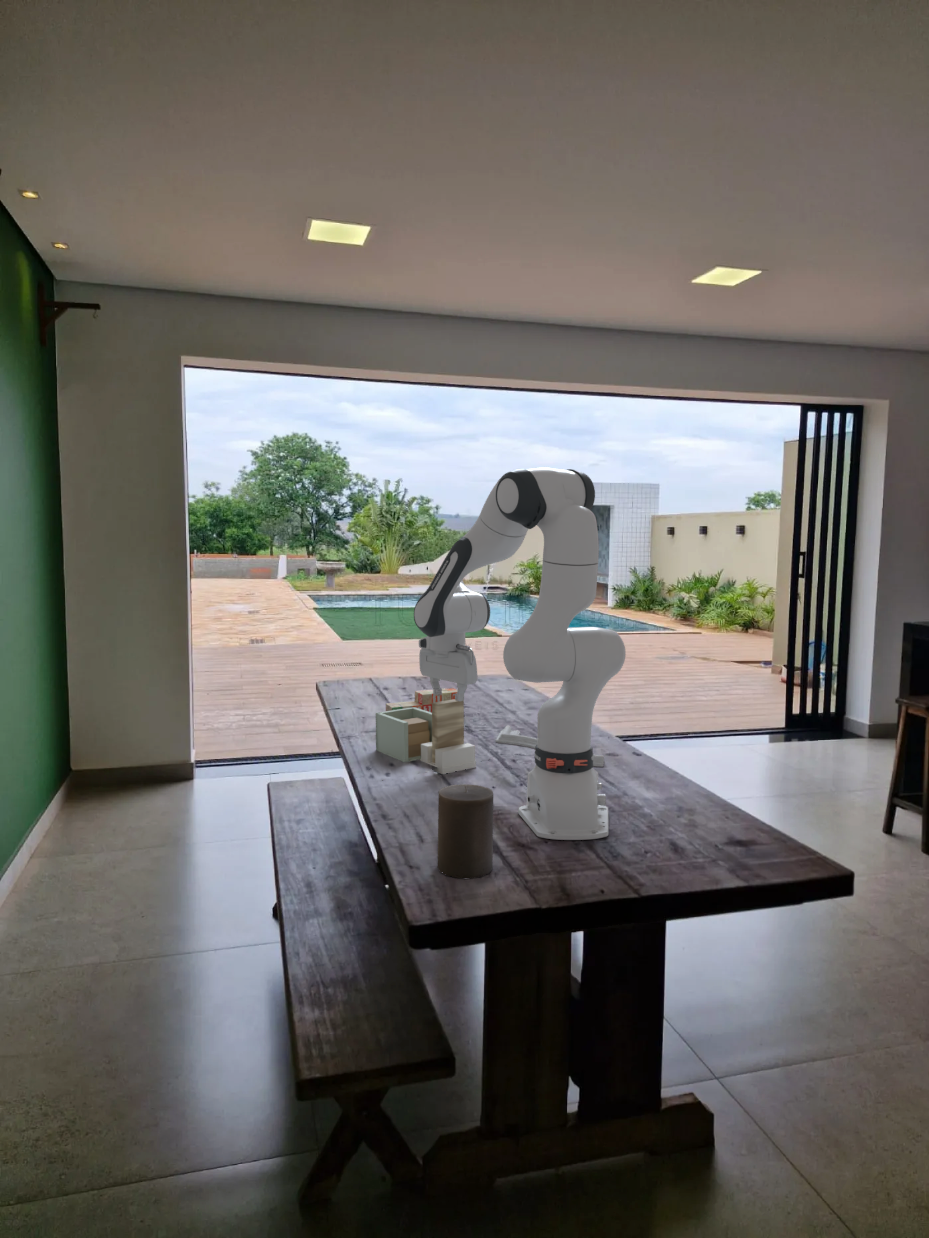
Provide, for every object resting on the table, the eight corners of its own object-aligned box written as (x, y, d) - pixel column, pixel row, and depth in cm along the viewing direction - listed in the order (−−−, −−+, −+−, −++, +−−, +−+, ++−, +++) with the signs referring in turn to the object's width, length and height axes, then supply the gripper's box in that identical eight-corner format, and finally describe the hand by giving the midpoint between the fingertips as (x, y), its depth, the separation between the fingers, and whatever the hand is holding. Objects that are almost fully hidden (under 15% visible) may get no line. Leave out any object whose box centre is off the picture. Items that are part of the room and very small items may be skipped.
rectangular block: (463, 758, 207) (463, 700, 205) (437, 764, 202) (437, 704, 201) (458, 756, 209) (458, 698, 207) (432, 762, 204) (431, 702, 202)
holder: (475, 767, 205) (475, 745, 204) (443, 774, 199) (442, 752, 198) (452, 758, 213) (452, 737, 212) (420, 765, 207) (420, 743, 206)
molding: (614, 766, 207) (614, 755, 207) (578, 774, 200) (579, 762, 200) (511, 732, 242) (511, 723, 242) (478, 738, 235) (478, 728, 235)
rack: (443, 758, 212) (443, 716, 211) (404, 766, 205) (403, 722, 204) (414, 747, 224) (414, 707, 222) (376, 754, 216) (375, 712, 215)
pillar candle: (458, 884, 137) (459, 797, 136) (426, 864, 145) (427, 782, 144) (504, 870, 143) (505, 786, 141) (471, 852, 151) (472, 773, 149)
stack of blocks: (392, 739, 233) (391, 696, 231) (385, 734, 238) (384, 692, 237) (461, 732, 241) (461, 691, 239) (453, 727, 247) (453, 687, 245)
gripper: (483, 645, 196) (483, 702, 197) (435, 638, 212) (435, 691, 213) (462, 647, 192) (462, 705, 193) (414, 640, 209) (415, 693, 210)
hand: (448, 698), depth 204 cm, fingers open, 8 cm apart
